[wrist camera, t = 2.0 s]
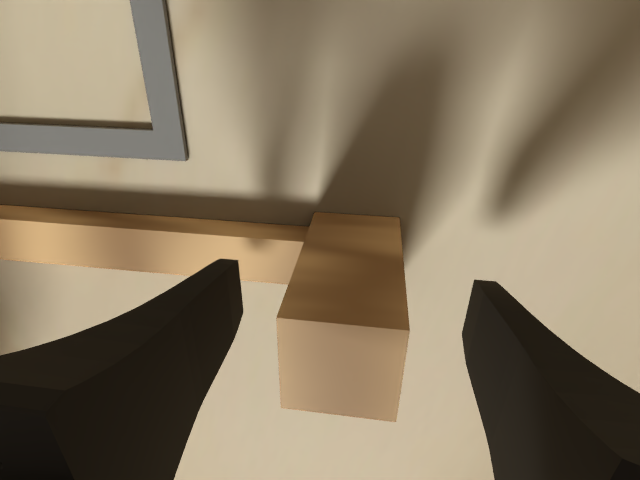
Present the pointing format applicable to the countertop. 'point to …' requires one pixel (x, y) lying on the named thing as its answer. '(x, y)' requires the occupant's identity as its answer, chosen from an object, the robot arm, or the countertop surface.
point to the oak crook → (271, 267)
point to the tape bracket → (121, 142)
